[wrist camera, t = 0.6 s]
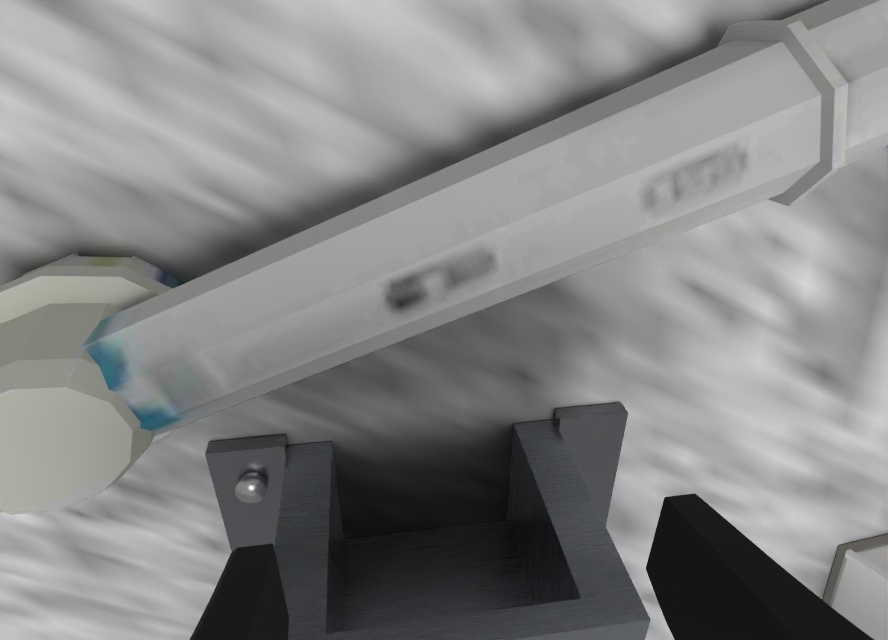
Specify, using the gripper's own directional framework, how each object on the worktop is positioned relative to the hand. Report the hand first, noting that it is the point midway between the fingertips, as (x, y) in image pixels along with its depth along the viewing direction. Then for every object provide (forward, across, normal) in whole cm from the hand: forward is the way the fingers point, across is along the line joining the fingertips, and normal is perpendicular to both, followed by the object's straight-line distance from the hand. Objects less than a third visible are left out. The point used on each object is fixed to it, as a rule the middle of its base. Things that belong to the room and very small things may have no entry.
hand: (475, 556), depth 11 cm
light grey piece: (+9, 0, -4) cm, 10 cm away
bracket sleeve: (+9, 0, +7) cm, 11 cm away
